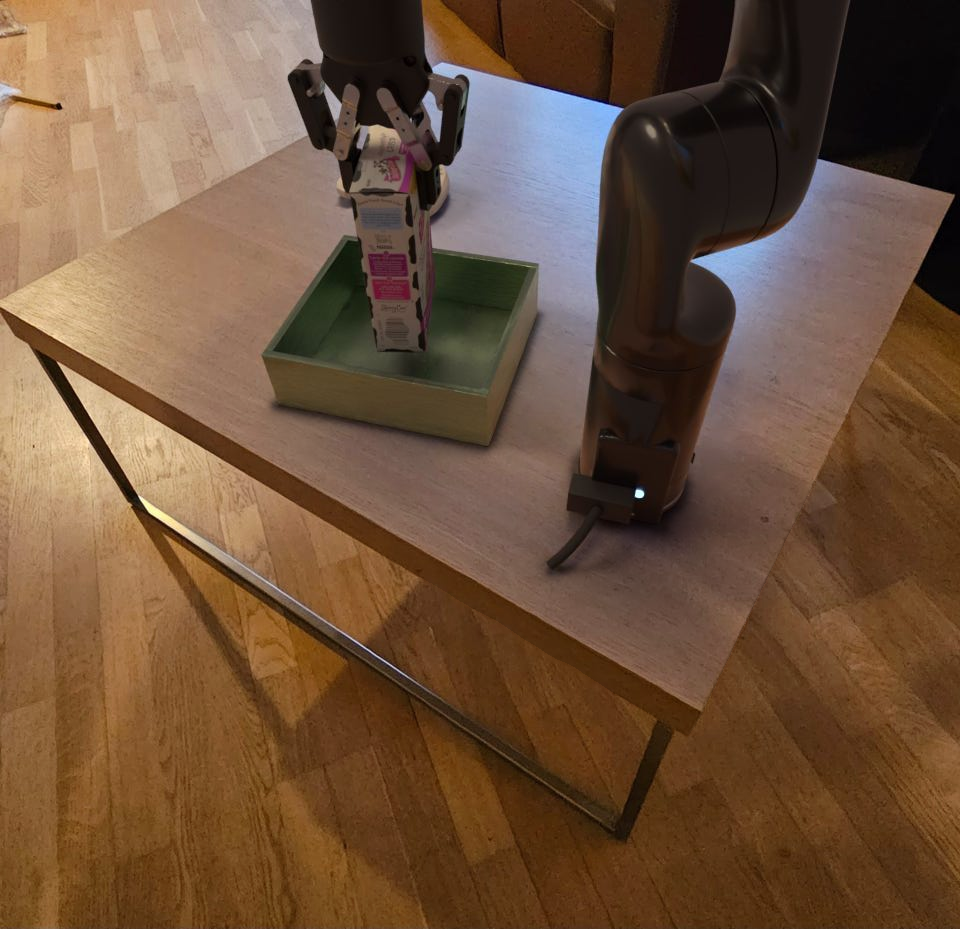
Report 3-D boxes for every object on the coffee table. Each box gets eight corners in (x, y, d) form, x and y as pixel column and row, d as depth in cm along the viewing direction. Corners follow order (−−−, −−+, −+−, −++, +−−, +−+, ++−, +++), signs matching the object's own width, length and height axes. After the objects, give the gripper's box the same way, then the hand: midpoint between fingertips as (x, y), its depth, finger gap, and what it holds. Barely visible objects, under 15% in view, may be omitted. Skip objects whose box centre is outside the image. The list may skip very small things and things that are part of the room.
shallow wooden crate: (488, 446, 67) (486, 397, 62) (278, 404, 71) (260, 354, 66) (537, 314, 79) (539, 263, 74) (354, 284, 83) (343, 234, 78)
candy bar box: (429, 354, 67) (410, 193, 54) (375, 354, 67) (345, 193, 55) (438, 280, 74) (424, 121, 61) (390, 280, 74) (366, 122, 62)
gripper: (238, -18, 47) (297, 214, 60) (447, -2, 44) (461, 237, 57) (289, -55, 52) (333, 168, 65) (481, -43, 49) (487, 188, 62)
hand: (393, 200), depth 61 cm, fingers closed on candy bar box, 5 cm apart
